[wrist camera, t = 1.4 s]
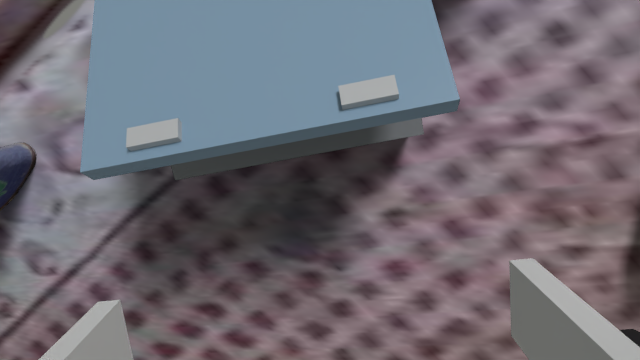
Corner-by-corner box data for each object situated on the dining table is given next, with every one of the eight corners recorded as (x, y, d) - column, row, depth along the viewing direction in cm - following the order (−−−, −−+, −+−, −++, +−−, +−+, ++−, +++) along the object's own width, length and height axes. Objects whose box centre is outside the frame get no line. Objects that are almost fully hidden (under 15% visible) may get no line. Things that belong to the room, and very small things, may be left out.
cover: (397, -99, 30) (397, -123, 29) (456, 110, 24) (461, 93, 23) (108, -30, 32) (93, -49, 31) (93, 180, 26) (74, 168, 25)
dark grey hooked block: (383, -69, 37) (390, -95, 31) (412, 125, 40) (423, 134, 34) (151, -15, 39) (117, -30, 33) (198, 165, 42) (175, 180, 36)
